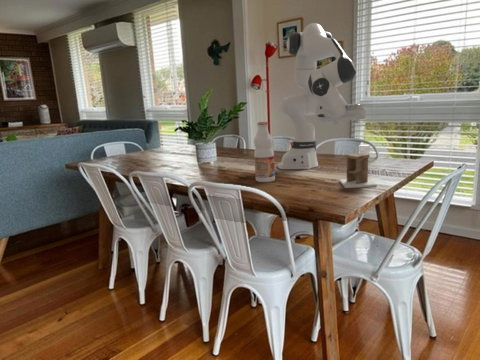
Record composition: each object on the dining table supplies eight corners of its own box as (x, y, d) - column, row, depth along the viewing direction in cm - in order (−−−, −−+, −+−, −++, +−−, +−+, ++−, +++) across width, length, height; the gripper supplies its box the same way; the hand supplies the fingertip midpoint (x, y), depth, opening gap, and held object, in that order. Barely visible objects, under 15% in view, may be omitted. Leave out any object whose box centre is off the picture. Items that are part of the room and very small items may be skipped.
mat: (345, 188, 154) (345, 185, 154) (339, 181, 166) (339, 179, 166) (376, 186, 153) (376, 184, 153) (368, 179, 165) (368, 177, 165)
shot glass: (356, 155, 225) (356, 144, 223) (367, 155, 225) (367, 143, 223) (361, 157, 218) (361, 146, 216) (372, 156, 218) (372, 145, 217)
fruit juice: (253, 179, 180) (250, 122, 174) (271, 177, 182) (269, 121, 176) (258, 183, 171) (255, 123, 165) (277, 181, 173) (275, 122, 167)
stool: (356, 184, 155) (357, 156, 152) (345, 181, 161) (345, 154, 158) (368, 181, 158) (369, 154, 155) (357, 178, 164) (357, 152, 161)
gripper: (361, 97, 144) (371, 113, 154) (314, 102, 156) (326, 118, 167) (359, 111, 142) (369, 127, 153) (311, 115, 154) (324, 130, 165)
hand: (346, 122), depth 160 cm, fingers open, 8 cm apart
